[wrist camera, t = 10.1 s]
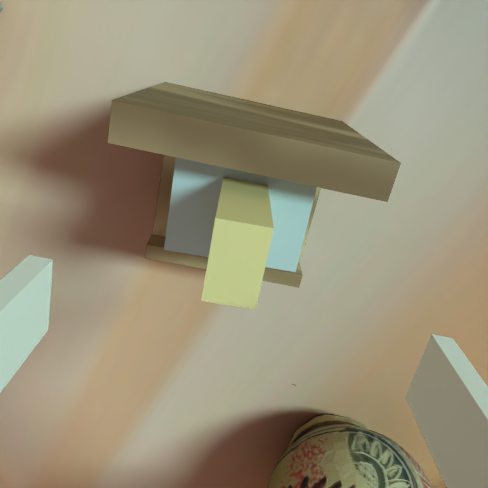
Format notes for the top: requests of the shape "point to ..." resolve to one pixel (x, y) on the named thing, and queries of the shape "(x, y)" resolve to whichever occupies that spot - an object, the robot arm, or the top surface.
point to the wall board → (245, 151)
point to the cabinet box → (236, 227)
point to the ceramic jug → (344, 458)
